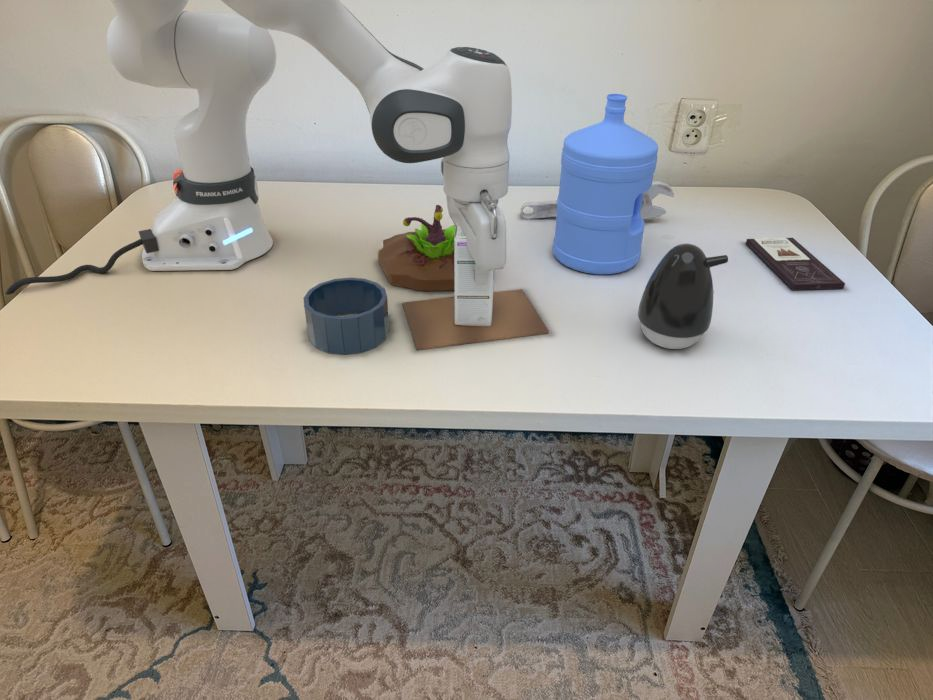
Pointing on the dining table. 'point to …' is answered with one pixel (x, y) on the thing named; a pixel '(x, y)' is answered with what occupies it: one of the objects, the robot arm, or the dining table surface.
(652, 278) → the pump dispenser
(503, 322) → the brown flat rectangular board
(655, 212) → the wrench
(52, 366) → the dining table surface
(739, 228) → the dining table surface
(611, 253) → the water jug
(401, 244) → the plant
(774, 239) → the chocolate bar
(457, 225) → the syrup box
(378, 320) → the pipe section
